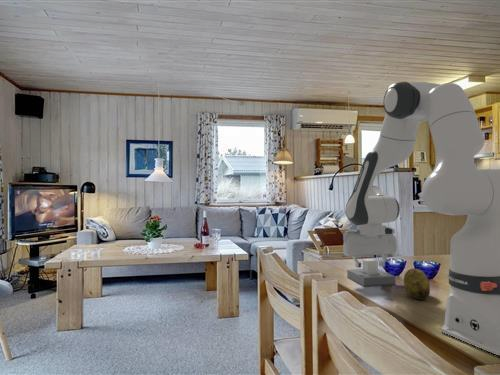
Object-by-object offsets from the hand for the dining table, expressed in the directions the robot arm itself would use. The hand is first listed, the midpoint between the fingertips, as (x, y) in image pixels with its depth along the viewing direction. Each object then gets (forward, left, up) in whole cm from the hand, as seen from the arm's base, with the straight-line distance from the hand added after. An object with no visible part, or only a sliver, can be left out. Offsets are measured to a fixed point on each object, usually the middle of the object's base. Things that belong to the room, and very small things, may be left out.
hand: (370, 266), depth 140 cm
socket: (0, 0, -5) cm, 5 cm away
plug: (0, 0, -5) cm, 5 cm away
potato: (-21, -5, -6) cm, 22 cm away
